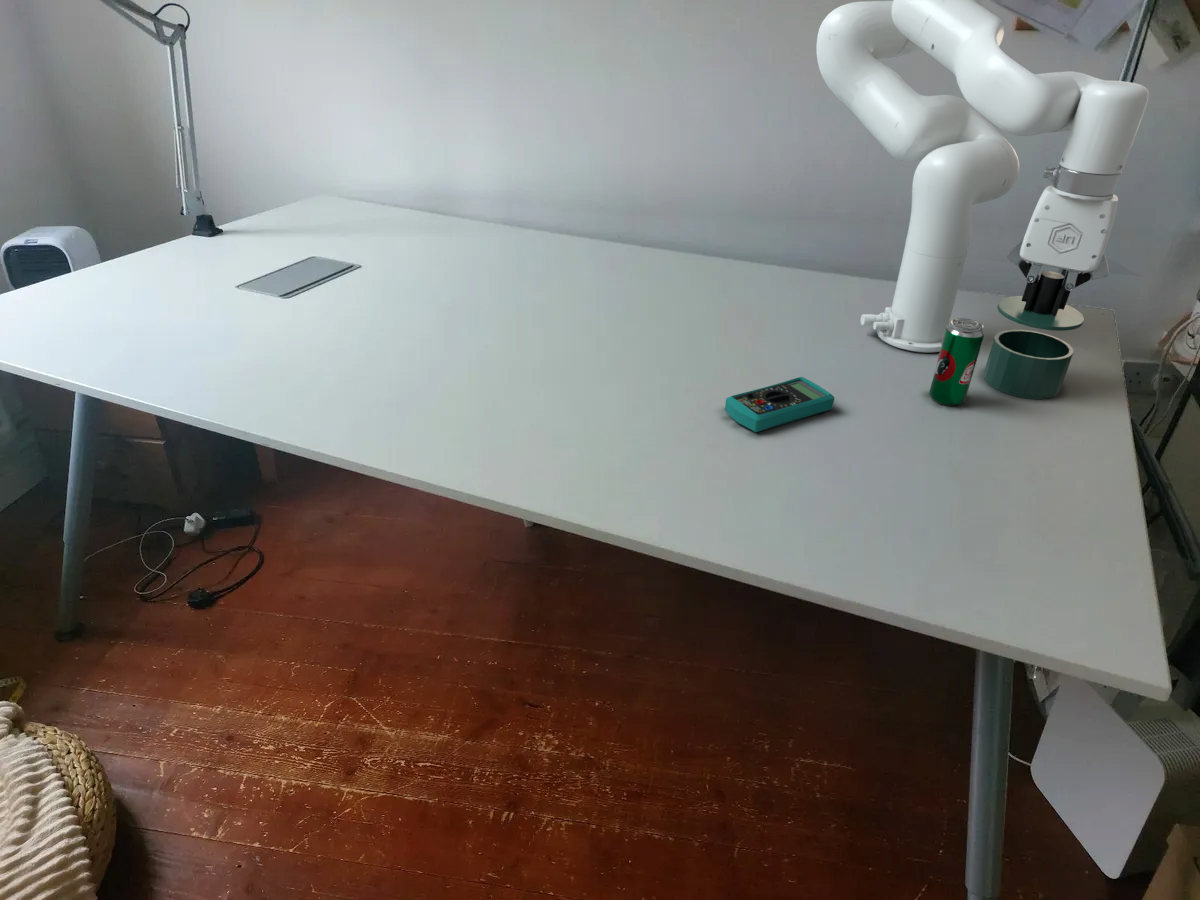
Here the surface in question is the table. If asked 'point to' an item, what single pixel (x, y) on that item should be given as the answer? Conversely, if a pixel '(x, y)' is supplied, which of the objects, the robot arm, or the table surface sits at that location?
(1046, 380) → the green round container
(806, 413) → the digital multimeter
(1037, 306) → the lid
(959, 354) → the soda can
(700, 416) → the table surface
